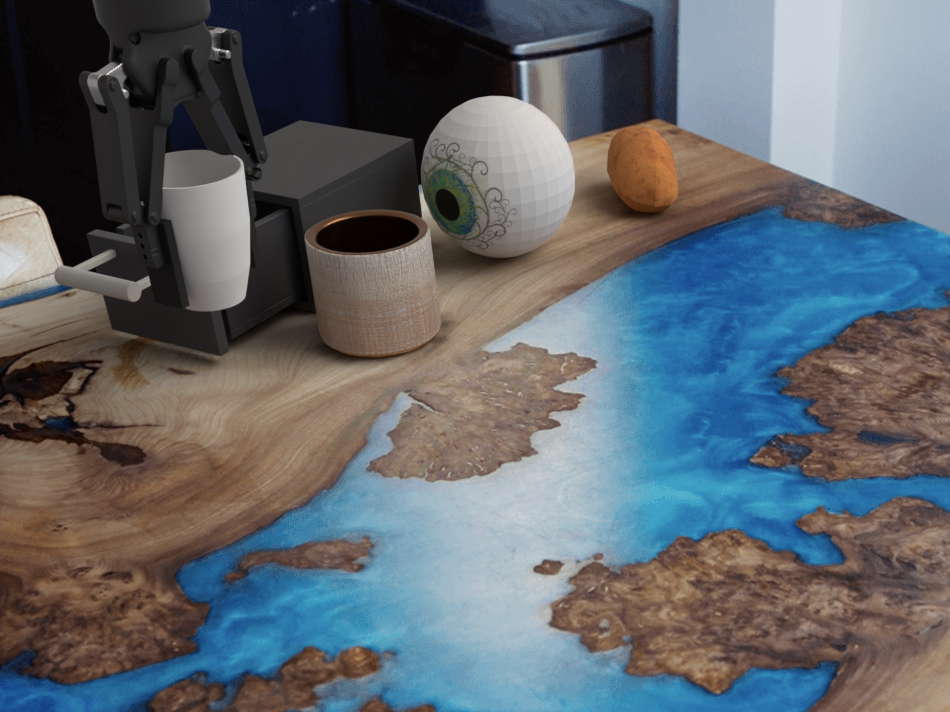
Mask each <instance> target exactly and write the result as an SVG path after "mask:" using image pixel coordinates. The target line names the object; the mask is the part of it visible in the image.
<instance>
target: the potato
mask: <svg viewBox="0 0 950 712" xmlns="http://www.w3.org/2000/svg"><path fill="white" fill-rule="evenodd" d="M606 158H607V162H606V173H607V175H608V177H609V179H610V182H611V186H612V188H613V189H614V192H615V193H616V195H617V196H618V197H619V198H620V199H621V201H622V202H623V203H624V204H625V205H626V206H627V207H628V208H630V209H632V210H633V211H635V212H639V213H640V212H641V213H655V212H664V211H665V210H667V209H668V208H670V207H671V206H672V205H673V204H674V202H676V201H677V199H678V196H679V195H678V194H679V181H678V177H677V169H676V167H677V166H676V161H675V157H674V153H673V151H672V149H671V147H670V145H669V144H668V142H667V140H666V139H665V138H663V137H662V136H661V135H660V134H659V132H658V131H656V130H655V129H653V128H651V127H647V126H633V125H631V126H628V127H625V128H623V129H621V130H619V131H617V132H616V133H615V134H614V135H613V137H612V138H611V139H610V143H609V147H608V150H607V157H606Z"/></svg>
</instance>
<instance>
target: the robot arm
mask: <svg viewBox="0 0 950 712" xmlns="http://www.w3.org/2000/svg"><path fill="white" fill-rule="evenodd" d="M92 3H93V8H94V11H95V12H94V13H95V17H96V20H97V21H98V23H99V24H100V25H101V27H102V28H103V29H104V31H105V32H106V34H107V36H108V38H109V54H108V62H109V63H108V64H106V65H105V66H103V67H102V68H100V69H99V70H97V71H96V72H92V71H86V70H83V71H82V72H81V73H79V76H78V83H79V88H80V89H81V92H82V94H83V97H84V100H85V103H86V105H87V106H88V109H89V117H90V126H91V132H92V141H93V148H94V157H95V165H96V173H97V180H98V190H99V196H100V203H101V213H102V216H103V217H104V219H106V220H109V221H114V222H117V223H122V224H125V223H126V224H130V226H131V228H132V232H133V236H134V241H135V245H136V249H137V252H138V258H139V261H140V262H141V264H142V265H143V266H147V271H148V275H149V279H150V284H151V288H152V292H153V296H154V301H155V302H156V303H160V304H164V305H168V306H172V307H176V308H179V309H184V308H186V307H188V306H190V305H189V300H188V296H187V291H186V286H185V282H184V277H183V273H182V268H181V263H180V259H179V254H178V250H177V245H176V240H175V236H174V231H173V227H172V222H171V220H167V219H161V210H162V195H163V190H162V188H163V179H164V164H165V153H166V150H167V149H166V145H167V133H168V132H167V131H168V127H169V126H170V125H172V124H173V121H174V113H175V112H174V111H175V108H176V107H178V106H179V105H180V104H181V105H183V107H184V108H185V110H186V112H187V114H188V115H189V117H190V119H191V122H192V123H193V125H194V126H195V128H196V130H197V132H198V134H199V136H200V138H201V140H202V141H203V143H204V145H205V147H206V150H208V151H213V152H215V153H217V154H220V155H233V156H234V155H235V156H237V157H239V158H240V159H241V160H242V161H243V164H244V173H245V181H246V190H247V199H248V207H249V216H250V267H251V268H258V267H260V266H262V261H261V255H260V250H259V244H258V239H257V233H256V228H255V222H254V218H256V205H255V199H254V194H253V188H252V183H251V181H256V182H257V181H259V180H260V179H261V177H262V169H261V168H258V167H256V166H257V165H258V164H259V163H260V164H264V163H266V161H267V159H268V152H267V149H266V145H265V141H264V138H263V137H264V135H263V131H262V128H261V124H260V120H259V117H258V114H257V110H256V106H255V103H254V99H253V95H252V92H251V89H250V85H249V82H248V78H247V75H246V74H247V73H246V71H245V67H244V64H243V44H242V35H241V33H240V32H239V30H236V29H231V28H230V29H229V28H225V27H217V26H212V25H208V26H207V24H206V22H205V21H207V20H208V18H210V15H211V12H212V11H211V9H212V8H211V3H210V0H92ZM143 105H144V106H146V107H149V108H154V109H153V110H149V109H145V108H143ZM247 142H248V143H247ZM247 144H249V145H247ZM141 201H143V203H144V206H143V205H141Z"/></svg>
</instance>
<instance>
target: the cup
mask: <svg viewBox="0 0 950 712" xmlns="http://www.w3.org/2000/svg"><path fill="white" fill-rule="evenodd" d="M162 190H163V195H162V210H161V219H167V220H171V222H172V227H173V231H174V236H175V240H176V245H177V250H178V254H179V259H180V263H181V268H182V273H183V277H184V282H185V286H186V291H187V296H188V300H189V305H190V306H188V307H186V309H189V310H194V311H217V310H222V309H226V308H230V307H232V306H235V305H237V304H239V303H240V302H241V301H243V300H244V298H245V296H246V290H247V283H248V276H249V269H250V216H249V207H248V199H247V190H246V181H245V173H244V164H243V161H242V160H241V159H240V158H239V157H237V156H235V155H234V156H233V155H220V154H217V153H215V152H213V151H208V149H189V150H177V151H171V152H165V164H164V179H163V188H162ZM141 205H143V206H144V203H143V201H141Z"/></svg>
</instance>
